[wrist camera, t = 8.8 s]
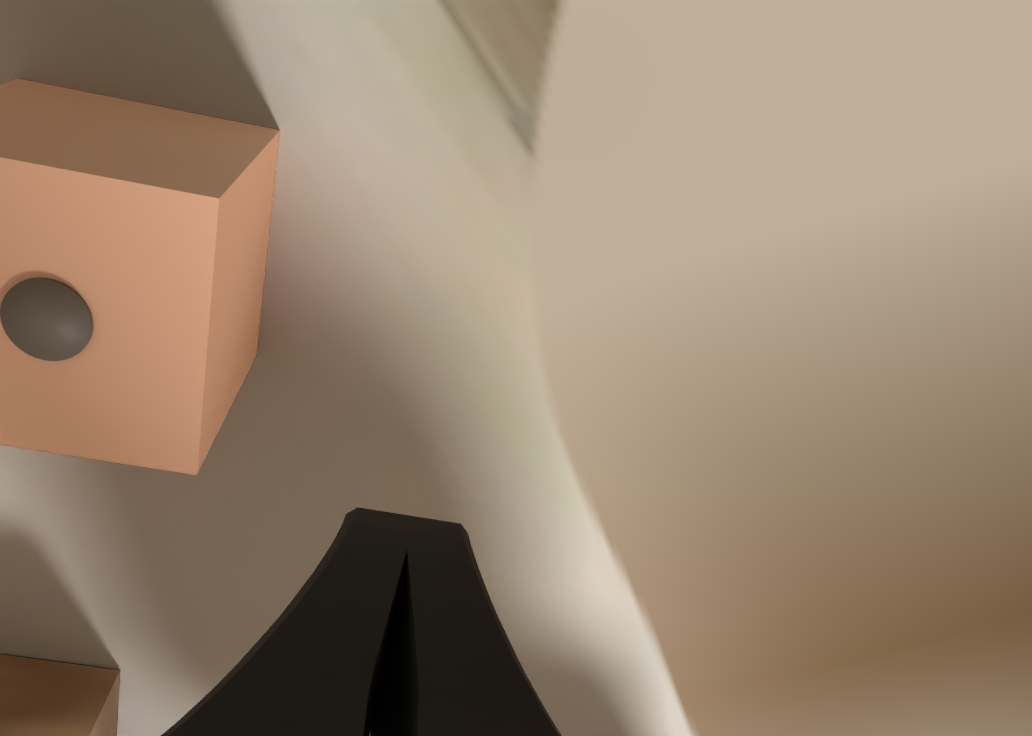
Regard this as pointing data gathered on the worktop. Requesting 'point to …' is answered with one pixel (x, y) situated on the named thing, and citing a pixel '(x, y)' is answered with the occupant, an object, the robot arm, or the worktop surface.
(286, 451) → the worktop surface
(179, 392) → the block
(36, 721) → the block
